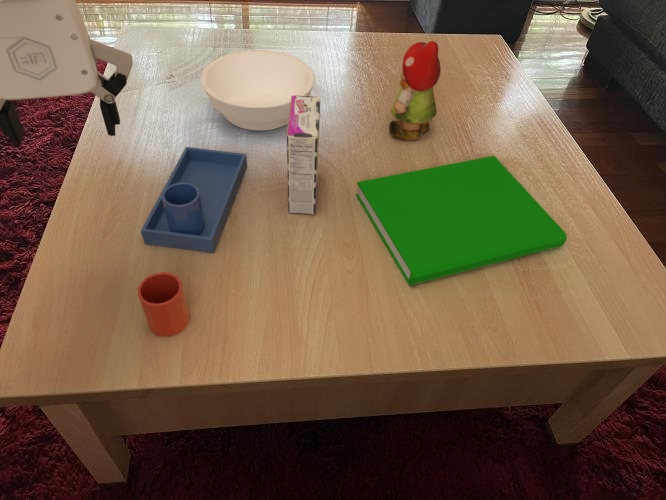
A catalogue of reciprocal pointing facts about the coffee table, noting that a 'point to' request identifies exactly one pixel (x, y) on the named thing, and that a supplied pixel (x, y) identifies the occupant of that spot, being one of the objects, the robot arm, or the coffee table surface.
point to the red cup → (164, 304)
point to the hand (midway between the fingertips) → (66, 134)
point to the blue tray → (215, 192)
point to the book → (456, 218)
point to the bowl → (256, 87)
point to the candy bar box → (303, 154)
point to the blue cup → (183, 208)
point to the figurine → (416, 92)
